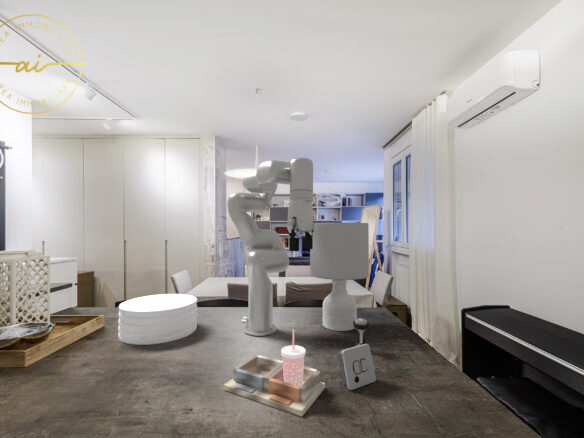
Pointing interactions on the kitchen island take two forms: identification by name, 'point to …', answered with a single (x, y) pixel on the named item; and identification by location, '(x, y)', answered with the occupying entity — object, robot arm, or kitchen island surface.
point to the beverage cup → (293, 363)
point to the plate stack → (157, 318)
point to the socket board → (274, 385)
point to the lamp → (340, 268)
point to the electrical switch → (356, 366)
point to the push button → (361, 329)
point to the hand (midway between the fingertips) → (301, 250)
